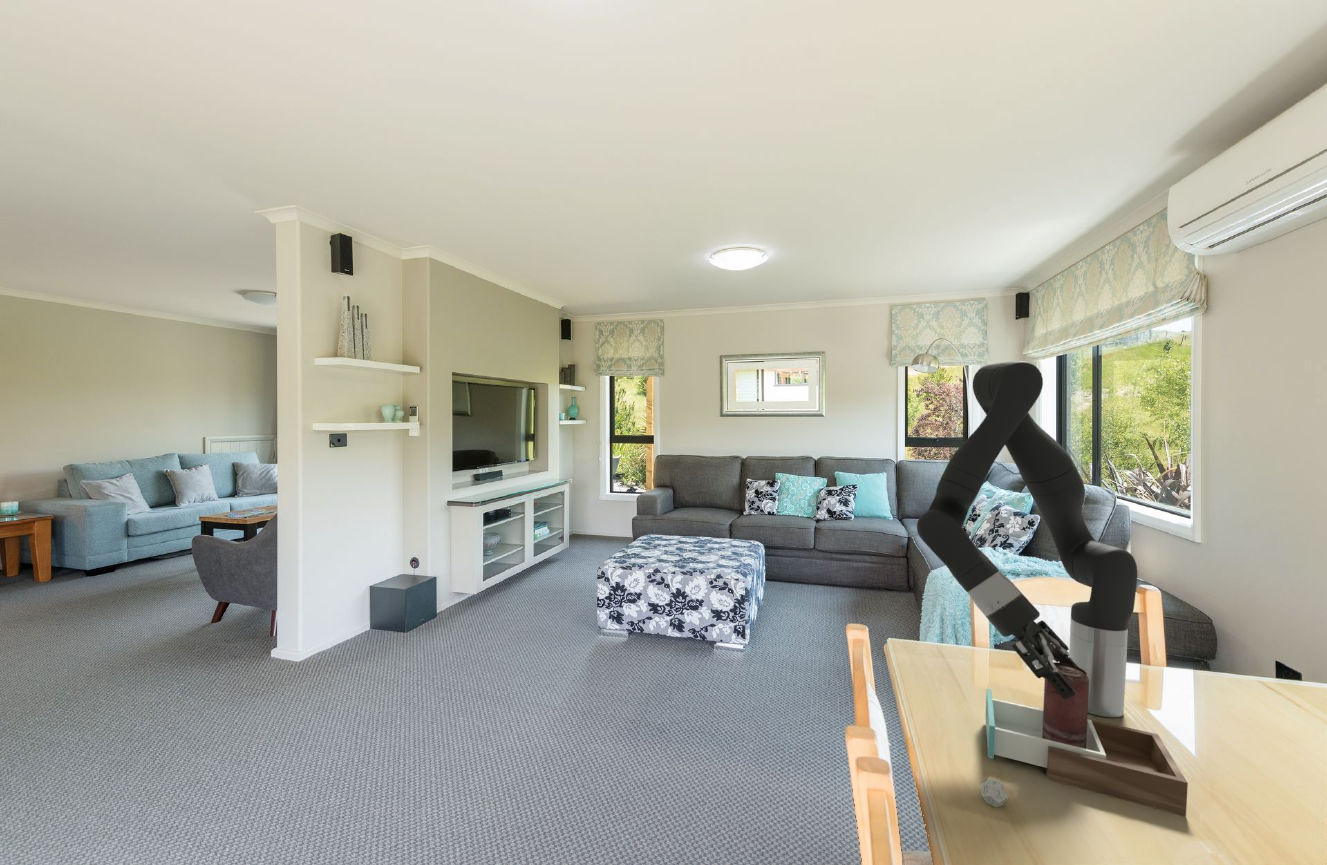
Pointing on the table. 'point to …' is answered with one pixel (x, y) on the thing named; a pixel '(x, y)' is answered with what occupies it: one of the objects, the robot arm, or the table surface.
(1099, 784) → the tray stand
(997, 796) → the game die
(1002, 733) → the tray
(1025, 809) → the table surface
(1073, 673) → the can
